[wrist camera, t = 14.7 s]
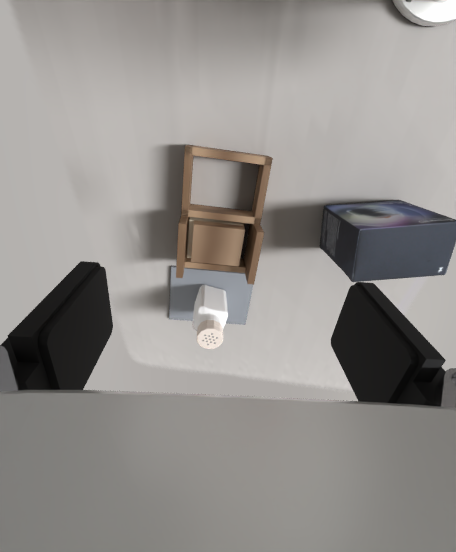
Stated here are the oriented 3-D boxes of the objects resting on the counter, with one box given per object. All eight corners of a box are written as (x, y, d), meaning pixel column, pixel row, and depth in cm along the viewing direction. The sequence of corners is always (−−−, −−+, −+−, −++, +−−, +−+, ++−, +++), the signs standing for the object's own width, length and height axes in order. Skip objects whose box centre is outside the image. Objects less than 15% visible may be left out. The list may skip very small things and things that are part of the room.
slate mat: (254, 273, 41) (255, 274, 40) (244, 322, 45) (245, 324, 44) (171, 265, 39) (171, 267, 39) (169, 317, 43) (169, 319, 43)
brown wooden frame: (267, 155, 33) (278, 160, 28) (248, 264, 40) (253, 284, 34) (187, 144, 32) (182, 147, 27) (180, 257, 39) (175, 277, 33)
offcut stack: (244, 217, 37) (248, 229, 33) (238, 253, 39) (241, 268, 35) (189, 211, 36) (186, 222, 32) (187, 248, 38) (184, 263, 34)
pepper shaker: (218, 310, 43) (220, 354, 34) (193, 304, 42) (189, 348, 33) (227, 289, 41) (231, 330, 33) (201, 282, 40) (198, 322, 32)
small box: (402, 196, 36) (467, 219, 27) (392, 242, 39) (447, 277, 30) (322, 202, 36) (361, 227, 27) (318, 248, 39) (351, 285, 30)
